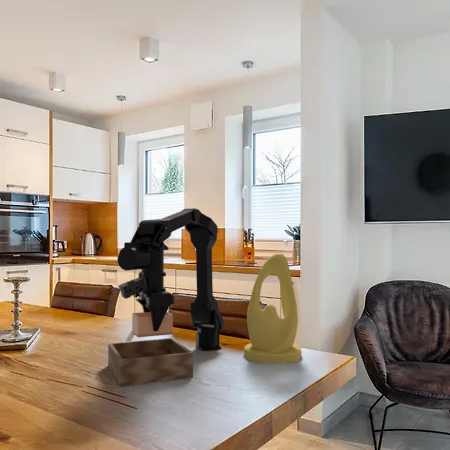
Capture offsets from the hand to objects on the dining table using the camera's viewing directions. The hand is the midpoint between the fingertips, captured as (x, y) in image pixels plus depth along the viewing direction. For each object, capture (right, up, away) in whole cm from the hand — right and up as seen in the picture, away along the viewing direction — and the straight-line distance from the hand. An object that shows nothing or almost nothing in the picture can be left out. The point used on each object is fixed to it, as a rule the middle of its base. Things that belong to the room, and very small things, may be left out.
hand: (152, 328), depth 117 cm
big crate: (-1, -11, 0) cm, 11 cm away
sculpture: (+33, -12, +15) cm, 38 cm away
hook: (-9, -12, +15) cm, 21 cm away
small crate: (0, -1, 0) cm, 1 cm away
